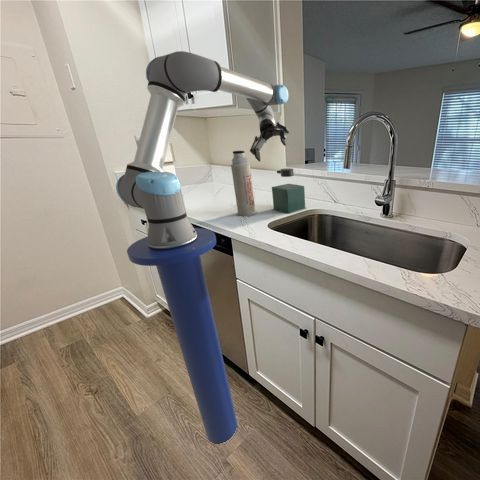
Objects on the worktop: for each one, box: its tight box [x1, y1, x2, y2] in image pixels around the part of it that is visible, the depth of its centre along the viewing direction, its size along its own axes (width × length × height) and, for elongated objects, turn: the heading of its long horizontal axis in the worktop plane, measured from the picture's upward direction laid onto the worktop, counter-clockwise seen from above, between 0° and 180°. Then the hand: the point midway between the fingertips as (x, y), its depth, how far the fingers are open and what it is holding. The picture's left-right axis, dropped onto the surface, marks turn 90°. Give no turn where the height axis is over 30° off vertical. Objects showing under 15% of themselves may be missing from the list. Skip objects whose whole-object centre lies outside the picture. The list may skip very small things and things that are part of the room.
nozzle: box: [276, 167, 295, 178], centre depth 123 cm, size 10×6×3 cm, turn 49°
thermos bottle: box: [230, 150, 256, 217], centre depth 117 cm, size 8×8×28 cm
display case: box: [133, 135, 177, 176], centre depth 147 cm, size 11×11×35 cm
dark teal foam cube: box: [271, 183, 306, 214], centre depth 127 cm, size 13×11×11 cm
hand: (270, 151), depth 113 cm, fingers open, 13 cm apart
